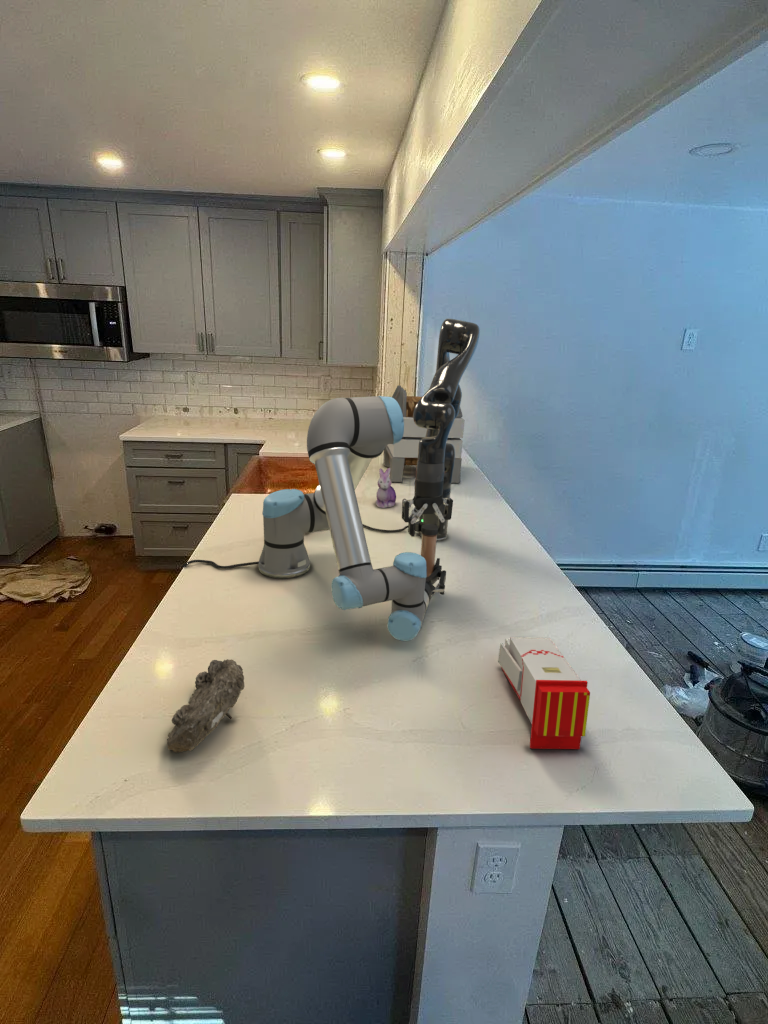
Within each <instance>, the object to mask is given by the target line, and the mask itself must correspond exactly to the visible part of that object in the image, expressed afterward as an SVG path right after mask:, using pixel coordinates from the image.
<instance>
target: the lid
mask: <svg viewBox="0 0 768 1024" xmlns="http://www.w3.org/2000/svg"><path fill="white" fill-rule="evenodd" d="M438 531H439V528H438V526H437V525H434V524H424V525H422V528H421V533H423V534H425V535H430V536H432V535H437V534H438Z"/></svg>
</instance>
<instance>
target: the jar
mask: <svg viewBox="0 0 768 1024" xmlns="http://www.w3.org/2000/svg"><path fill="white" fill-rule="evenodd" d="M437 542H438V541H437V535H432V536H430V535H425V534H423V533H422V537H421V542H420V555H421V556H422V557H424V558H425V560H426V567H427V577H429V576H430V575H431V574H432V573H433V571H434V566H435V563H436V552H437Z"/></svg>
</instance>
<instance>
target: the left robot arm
mask: <svg viewBox="0 0 768 1024" xmlns="http://www.w3.org/2000/svg"><path fill="white" fill-rule="evenodd" d="M308 425H309V426H308V429H307V436H306V450H307V455H308V460H309V462H310V463H312V464H313V465H314V467H315V470H316V476H317V480H318V485H317V486H316V488H315V490H314V492H311V493H304V492H303V491H302V490H300V489H297V488H291V489H290V488H285V489H280V490H276V491H274V492H271V493H269V494H268V495H267V496H266V497H265V498H264V499H263V502H262V503H263V504H262V514H261V515H262V520H263V523H262V525H263V547H262V550H261V553H260V556H259V559H258V560H257V561H250V562H241V563H236V564H231V565H219V564H217V563H216V562H214V560H213V561H212V560H208V559H207V560H206V559H191V560H188V561H187V562H185V563H183V564H182V566H181V568H186V567H187V566H189V565H191V564H195V563H202V564H210V565H213V566H214V567H215V568H217V569H221V570H222V569H223V570H227V569H228V570H229V569H233V568H238V567H240V568H241V567H247V566H253V565H254V566H256V565H257V566H258V571H259V573H261V574H262V575H263V576H266V577H268V578H273V579H293V578H297V577H301V576H303V575H305V574H306V573H308V571H310V569H311V559H310V557H309V553H308V550H307V548H306V545H305V534H312V533H316V532H317V533H318V532H324V531H325V532H326V531H329V533H330V538H331V543H332V547H333V551H334V556H335V560H336V565H337V570H338V576H335V577H334V578H333V579H332V580H331V596H332V600H333V602H334V604H335V606H336V607H337V608H338V609H340V610H343V611H347V610H353V609H361V608H363V607H367V606H371V605H375V604H379V603H384V602H389V601H391V610H390V611H391V612H390V614H389V616H388V619H387V623H386V624H387V630H388V632H389V634H390V635H391V637H393V638H394V639H396V640H397V641H401V642H408V641H412V640H413V639H415V638H416V637H417V636H418V634H419V632H420V631H421V629H422V624H423V622H424V618H425V617H426V613H427V610H428V606H429V604H430V602H431V599H432V596H433V595H435V594H436V593H438V594H439V595H441V596H444V595H445V593H446V592H445V591H446V584H445V583H446V580H447V570H442V569H443V566H442V565H440V564H441V563H440V562H441V558H440V557H437V558H436V559H435V566H434V571H433V573H432V574H431V575H430V576H429V577H427V567H426V560H425V558H424V557H422V556H421V554H419V553H417V552H411V551H406V552H401V553H398V554H397V555H395V556H394V560H393V562H392V565H390V566H385V567H384V566H383V567H380V568H373V565H372V560H371V557H370V556H371V555H370V551H369V548H368V541H367V539H366V533H365V529H364V527H363V525H362V524H363V521H362V516H361V512H360V508H359V503H358V499H357V493H356V489H357V487H358V486H359V484H360V482H361V481H362V479H363V476H364V474H365V473H366V472H367V470H368V468H369V465H370V464H371V462H372V460H373V459H376V458H379V457H380V456H382V454H383V453H384V449H385V447H386V446H387V445H388V444H395V443H399V442H400V441H401V439H402V437H403V433H404V419H403V414H402V410H401V408H400V406H399V404H398V402H397V401H396V400H395V399H394V398H392V396H382V395H377V396H376V395H374V396H355V397H336V398H332V399H330V400H327V401H326V402H324V403H323V404H321V405H320V407H318V409H316V411H315V412H314V414H313V416H312V418H311V420H310V423H309V424H308ZM187 563H188V564H187ZM437 581H438V583H437V585H436V586H435V584H436V582H437Z"/></svg>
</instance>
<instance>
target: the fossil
mask: <svg viewBox="0 0 768 1024" xmlns="http://www.w3.org/2000/svg"><path fill="white" fill-rule="evenodd" d="M243 670H244V669H243V667H242V665H240V664H237V662H236V661H235V660H234V659H232V658H231V659H227V658H226V659H224V660H223V661H222V660H217V659H212V660H211V661H210V663H209V665H208V666H207V671H201V672H199V673H198V674H197V675H196V676H195V680H194V684H195V685H194V687H195V689H194V690H193V693H192V694H191V697H190V698H189V700H188V704H184V705H182V706H181V707H180V709H177V710H176V711H175V713H174V715H173V716H172V718H171V723H172V724H173V727H172V730H171V731H170V732H168V734H167V738H166V741H167V742H166V745H167V749H168V750H169V751H173V752H174V753H176V754H178V753H182V752H188V751H189V752H192V751H193V750H195V748H196V747H197V746H199V744H200V743H201V742H203V741H204V740H205V739H206V738H207V737H208V736H209V735H210V734H211V733H212V732H214V730H215V729H217V727H218V726H219V724H220V722H221V721H222V720H223V719H224V718H225V716H226V717H227V719H229V720H233V717H232V715H230V714H229V710H230V709H231V708H234V706H235V704H236V703H237V702H238V699H239V697H240V695H241V693H242V691H243V690H245V689H244V688H245V675H244V671H243Z"/></svg>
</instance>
